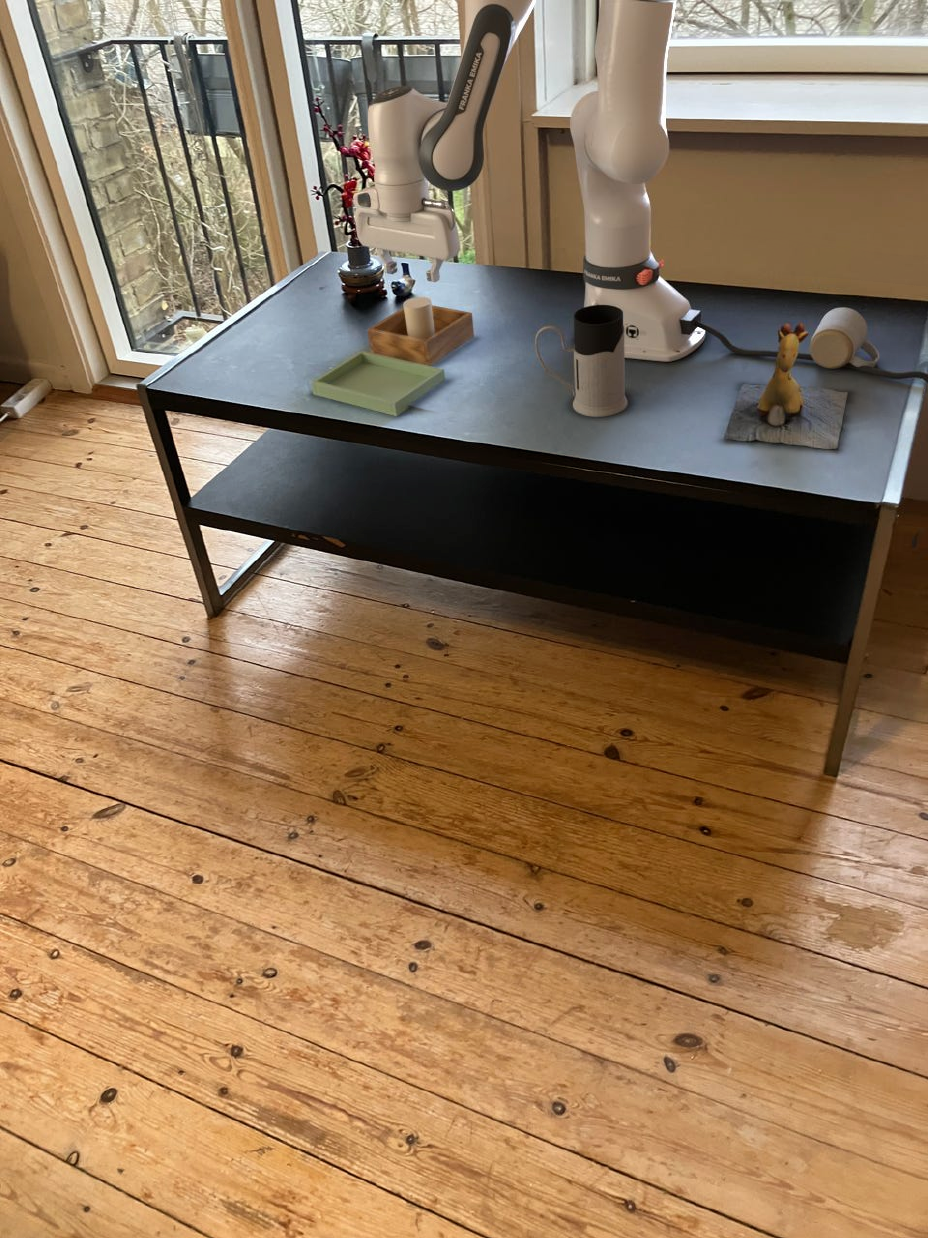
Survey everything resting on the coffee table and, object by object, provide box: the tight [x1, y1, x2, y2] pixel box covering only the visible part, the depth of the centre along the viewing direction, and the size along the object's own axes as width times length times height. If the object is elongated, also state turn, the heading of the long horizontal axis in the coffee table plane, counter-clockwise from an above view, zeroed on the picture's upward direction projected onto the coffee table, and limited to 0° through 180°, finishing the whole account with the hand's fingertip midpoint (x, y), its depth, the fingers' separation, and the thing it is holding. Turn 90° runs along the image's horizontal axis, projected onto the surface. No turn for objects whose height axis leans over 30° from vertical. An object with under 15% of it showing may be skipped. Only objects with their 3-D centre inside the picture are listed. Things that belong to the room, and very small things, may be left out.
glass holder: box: [534, 305, 628, 418], centre depth 163 cm, size 9×14×15 cm, turn 89°
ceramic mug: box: [809, 307, 881, 370], centre depth 168 cm, size 11×8×8 cm
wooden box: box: [366, 305, 475, 367], centre depth 190 cm, size 14×14×5 cm
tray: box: [310, 350, 446, 417], centre depth 179 cm, size 19×14×2 cm
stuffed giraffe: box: [723, 322, 848, 450], centre depth 154 cm, size 16×18×16 cm
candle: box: [402, 296, 435, 340], centre depth 188 cm, size 5×5×8 cm
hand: (412, 276), depth 183 cm, fingers open, 8 cm apart
